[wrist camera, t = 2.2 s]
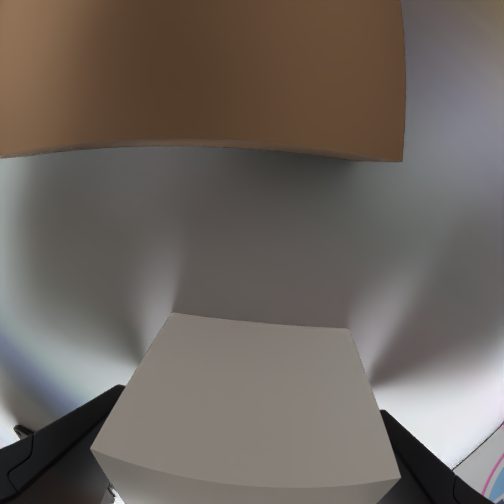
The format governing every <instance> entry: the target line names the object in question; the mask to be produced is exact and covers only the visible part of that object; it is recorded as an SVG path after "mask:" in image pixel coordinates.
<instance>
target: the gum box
mask: <svg viewBox="0 0 504 504" xmlns="http://www.w3.org/2000/svg"><path fill="white" fill-rule="evenodd" d="M453 472H454V473H455V475H458V476H459V477H460V478H461V479H462V480H463V481H465V482H466V483H467V484H468V485H470V486H471V487H472V488H473V489H475V490H476V491H477V492H479V493H480V494H482V495H483V496H485V497H486V498H488V499H489V500H491V501H492V502H494V503H495V504H504V423H503V425H502V426H501V427H500V428H499V429H498V430H497V431H496V432H495V433H494V434H493V435H492V436H491V437H490V438H489V439H488V440H487V441H486V442H484V443H483V444H482V445H481V446H480V447H479V448H478V449H477V450H476V451H475V452H473V453H472V454H471V455H470V456H469V457H468V458H467V459H466V460H465V461H463V462H462V463H461V464H460V465H459V466H458V467H457V468H455V469H454V470H453Z"/></svg>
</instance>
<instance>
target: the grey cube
mask: <svg viewBox="0 0 504 504" xmlns="http://www.w3.org/2000/svg"><path fill="white" fill-rule="evenodd" d="M90 450H91V451H92V453H93V455H94V457H95V458H96V460H97V462H98V463H99V465H100V467H101V468H102V470H103V471H104V473H105V475H106V476H107V478H108V479H109V481H110V482H111V484H112V485H113V487H114V488H115V490H116V491H117V493H118V494H119V496H120V497H121V498H122V500H123V501H124V502H125V504H376V503H377V502H378V501H379V500H380V499H381V498H382V497H383V496H384V495H385V494H386V493H387V492H388V491H389V490H390V489H391V488H392V487H393V486H394V485H395V484H396V483H397V482H398V480H399V479H400V478H401V476H400V472H399V469H398V466H397V462H396V459H395V456H394V453H393V450H392V446H391V443H390V440H389V437H388V434H387V431H386V428H385V425H384V422H383V419H382V416H381V414H380V411H379V408H378V405H377V402H376V399H375V397H374V394H373V391H372V388H371V386H370V383H369V380H368V378H367V375H366V372H365V370H364V367H363V364H362V362H361V359H360V357H359V354H358V352H357V349H356V346H355V344H354V341H353V339H352V336H351V334H350V332H349V329H348V328H326V327H309V326H294V325H281V324H269V323H258V322H247V321H238V320H228V319H220V318H211V317H203V316H195V315H188V314H181V313H174V312H172V313H171V314H170V316H169V317H168V319H167V320H166V322H165V324H164V325H163V327H162V328H161V330H160V332H159V333H158V335H157V336H156V338H155V340H154V341H153V343H152V344H151V346H150V348H149V349H148V351H147V352H146V354H145V356H144V357H143V359H142V361H141V362H140V364H139V366H138V367H137V369H136V370H135V372H134V374H133V375H132V377H131V379H130V380H129V382H128V384H127V385H126V387H125V389H124V390H123V392H122V394H121V395H120V397H119V399H118V401H117V402H116V404H115V406H114V407H113V409H112V411H111V413H110V414H109V416H108V418H107V419H106V421H105V423H104V425H103V426H102V428H101V430H100V432H99V433H98V435H97V437H96V439H95V440H94V442H93V444H92V446H91V448H90Z"/></svg>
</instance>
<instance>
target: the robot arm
mask: <svg viewBox="0 0 504 504" xmlns="http://www.w3.org/2000/svg"><path fill="white" fill-rule="evenodd" d="M125 387H126V386H124V385H120V384H119V385H116V386H114V387H113V388H111V389H109V390H108V391H106V392H104V393H103V394H101V395H99V396H98V397H96V398H94V399H92V400H91V401H89V402H87V403H86V404H84V405H82V406H81V407H79V408H77V409H75V410H74V411H72V412H70V413H68V414H67V415H65V416H63V417H61V418H60V419H58V420H56V421H54V422H53V423H51V424H49V425H47V426H45V427H44V428H42V429H40V430H38V431H36V432H35V433H34V434H33V433H31V432H29V431H28V430H26V429H24V428H22V427H21V426H19V425H16V426H15V427H14V431H15V432H16V434H17V435H18V437H19V438H20V440H19V441H17V442H15V443H13V444H11V445H9V446H6V447H4V448H1V449H0V504H114V501H115V499H114V497H113V496H112V495H111V493H110V492H109V490H108V489H107V488H108V486H109V483H110V481H109V479H108V478H107V476H106V475H105V473H104V471H103V470H102V468H101V467H100V465H99V463H98V462H97V460H96V458H95V457H94V455H93V453H92V451H91V450H90V448H91V446H92V444H93V442H94V440H95V439H96V437H97V435H98V433H99V432H100V430H101V428H102V426H103V425H104V423H105V421H106V419H107V418H108V416H109V414H110V413H111V411H112V409H113V407H114V406H115V404H116V402H117V401H118V399H119V397H120V395H121V394H122V392H123V390H124V389H125ZM379 411H380V414H381V416H382V419H383V422H384V425H385V428H386V431H387V434H388V437H389V440H390V443H391V446H392V450H393V453H394V456H395V459H396V462H397V466H398V469H399V472H400V476H401V478H400V479H399V480H398V482H397V483H396V484H395V485H394V486H393V487H392V488H391V489H390V490H389V491H388V492H387V493H386V494H385V495H384V496H383V497H382V498H381V499H380V500H379V501H378V502H377V503H376V504H495V503H494V502H492V501H491V500H489V499H488V498H486V497H485V496H483V495H482V494H480V493H479V492H477V491H476V490H475V489H473V488H472V487H471V486H470V485H468V484H467V483H466V482H465V481H463V480H462V479H461V478H460V477H459V476H458V475H455V473H454V472H453V471H452V470H451V469H450V468H449V467H447V466H446V465H445V464H444V463H443V462H442V461H441V460H440V459H438V458H437V457H436V456H435V455H434V454H433V453H432V452H431V451H430V450H428V449H427V448H426V447H425V446H424V445H423V444H422V443H421V442H420V441H419V440H417V439H416V438H415V437H414V436H413V435H412V434H411V433H410V432H409V431H408V430H406V429H405V428H404V427H403V426H402V425H401V424H400V423H399V422H398V421H397V420H396V419H395V418H393V417H392V416H391V415H390V414H389V413H388V412H387V411H386V410H379Z"/></svg>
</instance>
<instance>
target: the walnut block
mask: <svg viewBox="0 0 504 504" xmlns="http://www.w3.org/2000/svg"><path fill="white" fill-rule="evenodd" d="M405 108H406V69H405V46H404V32H403V21H402V12H401V3H400V0H0V159H2V158H12V157H23V156H30V155H37V154H45V153H53V152H62V151H72V150H83V149H96V148H112V147H134V146H206V147H230V148H246V149H260V150H272V151H283V152H292V153H301V154H310V155H318V156H325V157H332V158H339V159H346V160H352V161H369V162H402V159H403V147H404V132H405Z"/></svg>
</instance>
